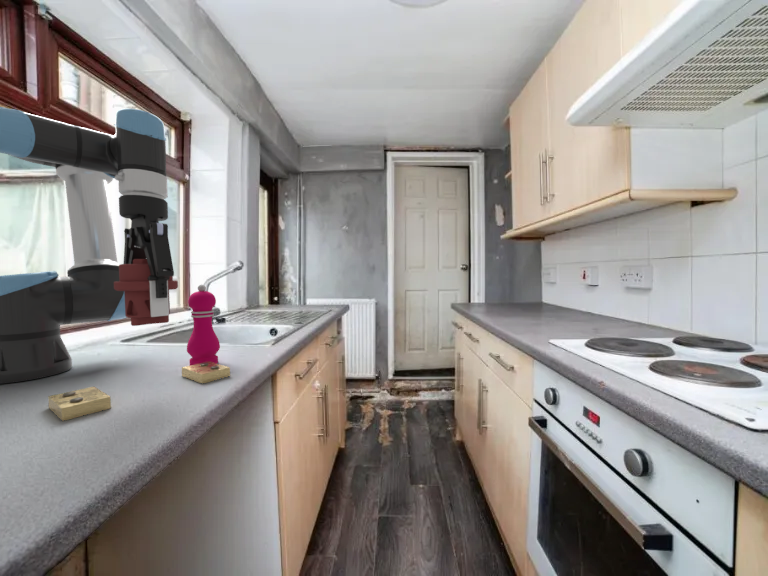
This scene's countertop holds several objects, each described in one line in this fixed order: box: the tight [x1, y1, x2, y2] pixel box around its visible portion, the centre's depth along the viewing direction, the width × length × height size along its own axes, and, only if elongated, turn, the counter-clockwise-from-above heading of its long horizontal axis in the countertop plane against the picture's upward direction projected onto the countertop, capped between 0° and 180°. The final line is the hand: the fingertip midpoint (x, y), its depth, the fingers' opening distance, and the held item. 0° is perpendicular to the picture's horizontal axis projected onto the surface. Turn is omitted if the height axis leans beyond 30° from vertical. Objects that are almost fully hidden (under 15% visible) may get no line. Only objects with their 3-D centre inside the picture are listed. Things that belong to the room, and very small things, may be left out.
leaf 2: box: [181, 362, 231, 385], centre depth 73 cm, size 9×6×2 cm, turn 55°
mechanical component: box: [114, 258, 179, 327], centre depth 64 cm, size 12×10×10 cm
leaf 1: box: [47, 386, 112, 422], centre depth 56 cm, size 9×6×2 cm, turn 55°
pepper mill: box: [186, 284, 221, 366], centre depth 82 cm, size 7×7×20 cm
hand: (148, 314), depth 64 cm, fingers closed on mechanical component, 10 cm apart
